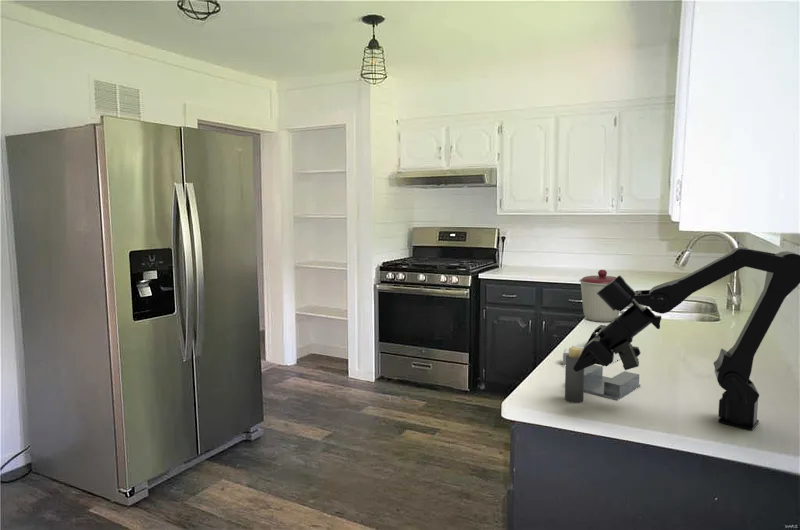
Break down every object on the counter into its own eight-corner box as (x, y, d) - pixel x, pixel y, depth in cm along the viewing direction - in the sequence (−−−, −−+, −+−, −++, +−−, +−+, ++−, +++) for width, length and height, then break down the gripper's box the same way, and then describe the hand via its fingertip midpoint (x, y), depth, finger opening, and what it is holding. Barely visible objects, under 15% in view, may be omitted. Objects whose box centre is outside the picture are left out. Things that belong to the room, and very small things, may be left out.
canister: (592, 313, 239) (594, 266, 237) (632, 320, 225) (634, 269, 223) (569, 319, 228) (570, 269, 226) (609, 326, 214) (611, 273, 212)
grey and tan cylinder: (586, 399, 135) (587, 348, 134) (577, 404, 132) (579, 352, 131) (570, 395, 138) (571, 345, 137) (561, 399, 135) (562, 348, 134)
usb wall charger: (577, 362, 166) (577, 350, 166) (576, 369, 160) (576, 356, 159) (563, 361, 168) (564, 348, 167) (562, 367, 161) (562, 354, 161)
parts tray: (628, 355, 173) (629, 345, 173) (611, 363, 164) (611, 353, 164) (590, 348, 183) (590, 338, 182) (571, 355, 174) (571, 346, 173)
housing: (640, 386, 144) (640, 373, 144) (617, 400, 134) (618, 386, 134) (590, 375, 154) (590, 362, 154) (565, 387, 144) (566, 374, 144)
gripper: (652, 362, 118) (596, 403, 124) (653, 342, 134) (604, 379, 140) (615, 323, 120) (562, 365, 126) (620, 308, 137) (573, 346, 143)
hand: (577, 364), depth 134 cm, fingers open, 9 cm apart
